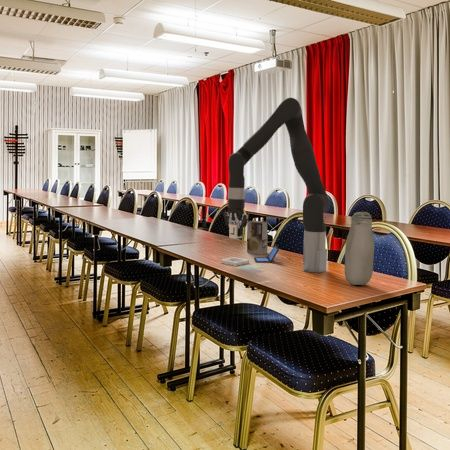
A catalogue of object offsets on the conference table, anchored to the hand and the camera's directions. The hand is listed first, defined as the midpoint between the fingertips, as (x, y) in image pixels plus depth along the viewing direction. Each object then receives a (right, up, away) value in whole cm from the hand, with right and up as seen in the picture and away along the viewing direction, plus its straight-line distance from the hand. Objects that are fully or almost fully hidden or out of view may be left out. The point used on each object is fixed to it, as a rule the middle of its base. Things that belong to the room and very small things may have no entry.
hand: (235, 235), depth 219 cm
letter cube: (0, -1, 0) cm, 1 cm away
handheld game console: (+15, -13, +9) cm, 21 cm away
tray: (0, -13, +1) cm, 13 cm away
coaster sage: (+9, -14, -5) cm, 17 cm away
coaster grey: (+8, -15, -15) cm, 23 cm away
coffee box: (+12, -10, +32) cm, 36 cm away
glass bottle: (+46, -18, -34) cm, 60 cm away
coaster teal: (+4, -14, -9) cm, 17 cm away
